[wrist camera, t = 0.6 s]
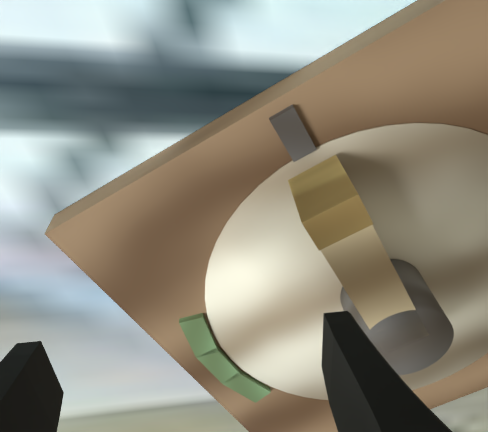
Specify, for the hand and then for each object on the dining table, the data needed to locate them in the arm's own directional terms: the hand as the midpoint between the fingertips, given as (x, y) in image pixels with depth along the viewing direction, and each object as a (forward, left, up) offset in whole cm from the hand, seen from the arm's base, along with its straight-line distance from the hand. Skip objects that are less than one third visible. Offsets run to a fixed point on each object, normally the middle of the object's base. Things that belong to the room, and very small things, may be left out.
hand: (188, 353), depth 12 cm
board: (-9, -5, -10) cm, 14 cm away
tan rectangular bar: (-6, -5, -8) cm, 11 cm away
